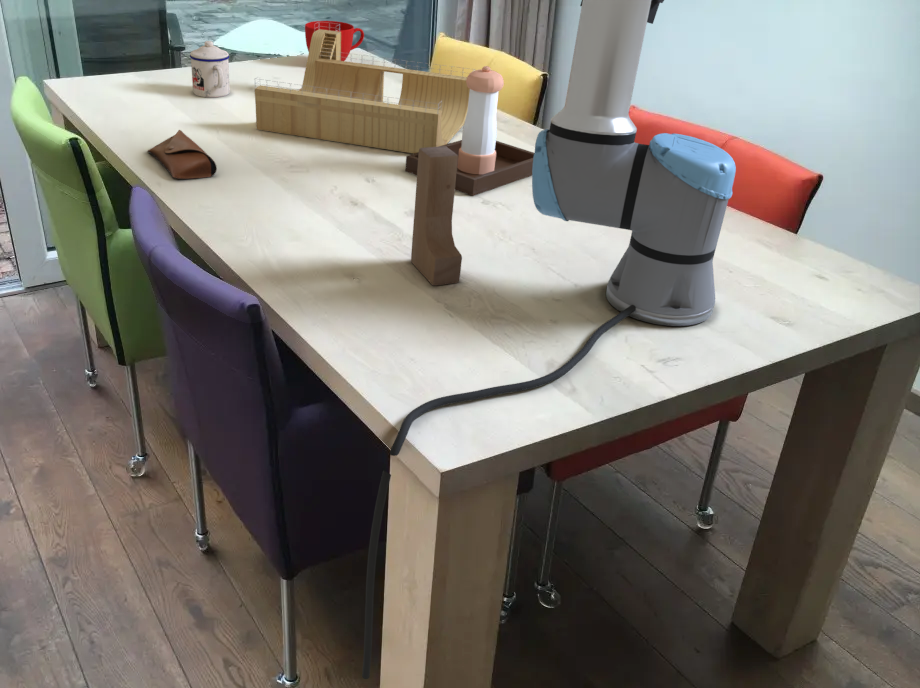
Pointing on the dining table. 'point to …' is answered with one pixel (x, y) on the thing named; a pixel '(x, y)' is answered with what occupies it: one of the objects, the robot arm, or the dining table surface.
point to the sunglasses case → (183, 158)
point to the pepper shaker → (480, 122)
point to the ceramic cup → (345, 30)
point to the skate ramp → (364, 102)
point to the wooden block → (435, 217)
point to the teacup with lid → (210, 71)
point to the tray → (507, 170)
